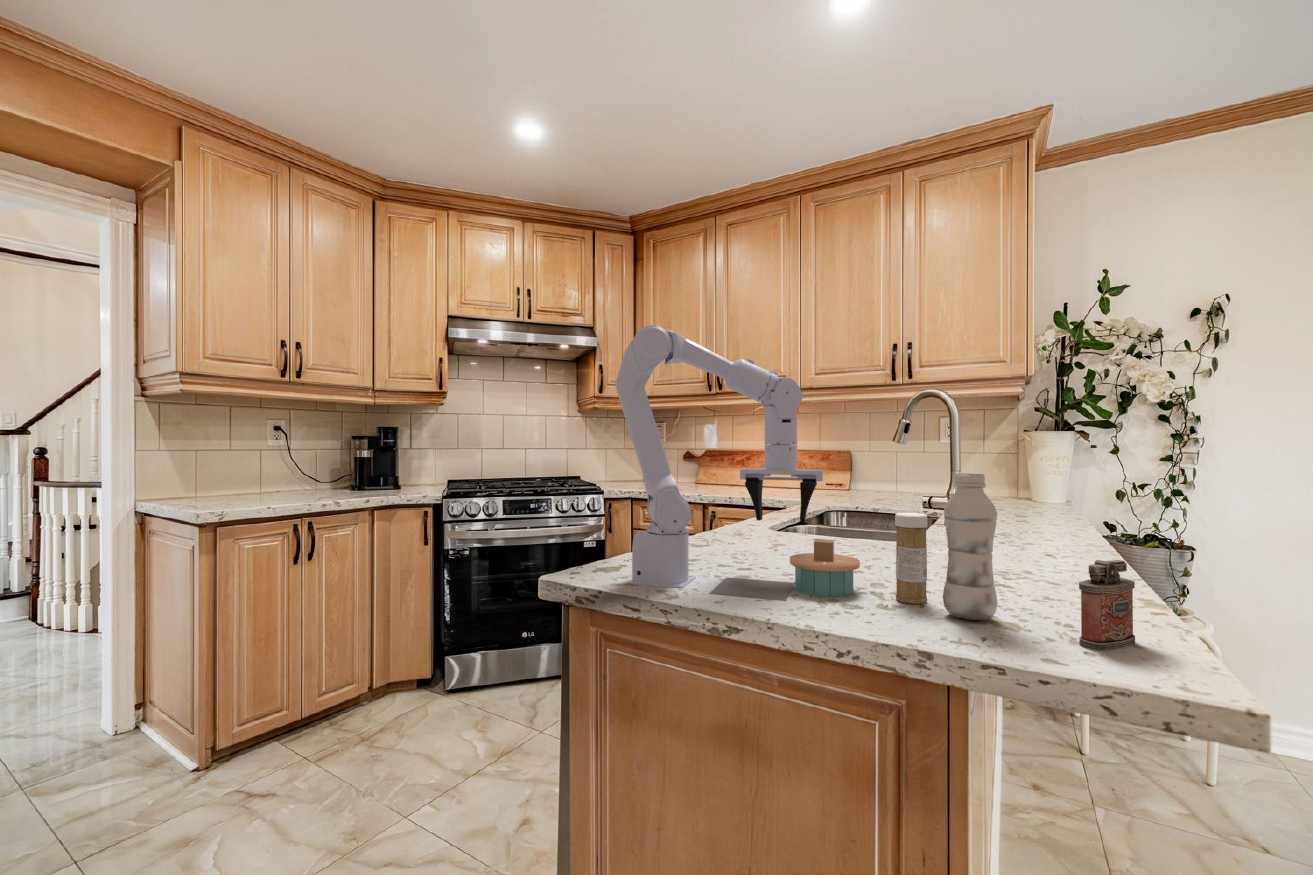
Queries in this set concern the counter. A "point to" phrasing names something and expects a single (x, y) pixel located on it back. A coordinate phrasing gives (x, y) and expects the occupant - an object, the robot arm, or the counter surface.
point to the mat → (754, 588)
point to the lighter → (1107, 607)
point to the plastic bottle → (970, 550)
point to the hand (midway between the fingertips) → (780, 520)
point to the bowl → (824, 582)
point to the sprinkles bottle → (911, 557)
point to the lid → (824, 558)
